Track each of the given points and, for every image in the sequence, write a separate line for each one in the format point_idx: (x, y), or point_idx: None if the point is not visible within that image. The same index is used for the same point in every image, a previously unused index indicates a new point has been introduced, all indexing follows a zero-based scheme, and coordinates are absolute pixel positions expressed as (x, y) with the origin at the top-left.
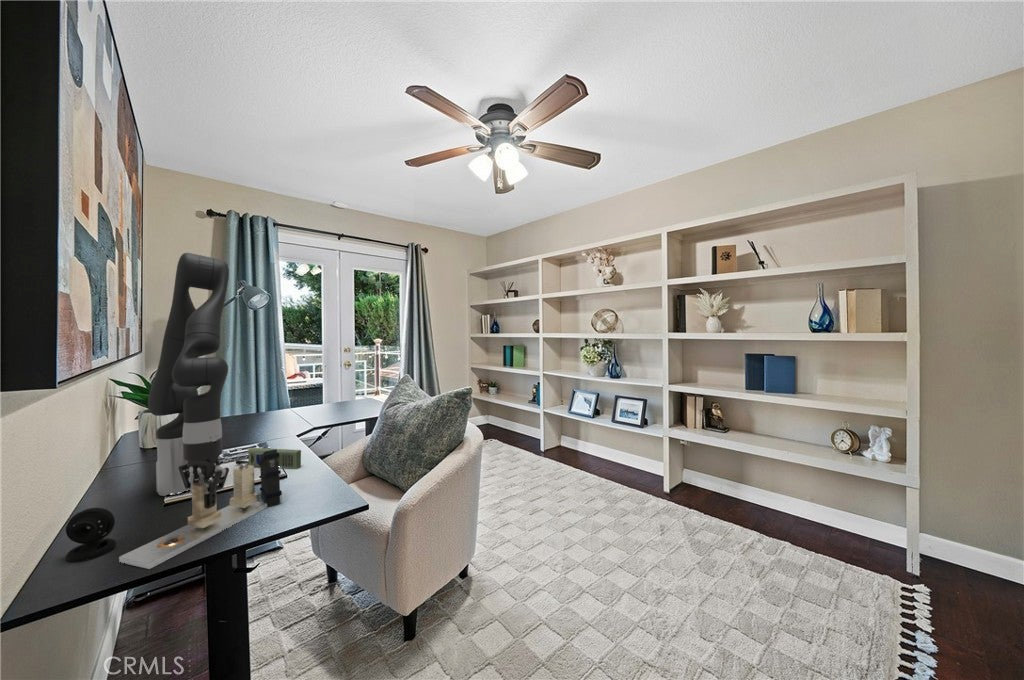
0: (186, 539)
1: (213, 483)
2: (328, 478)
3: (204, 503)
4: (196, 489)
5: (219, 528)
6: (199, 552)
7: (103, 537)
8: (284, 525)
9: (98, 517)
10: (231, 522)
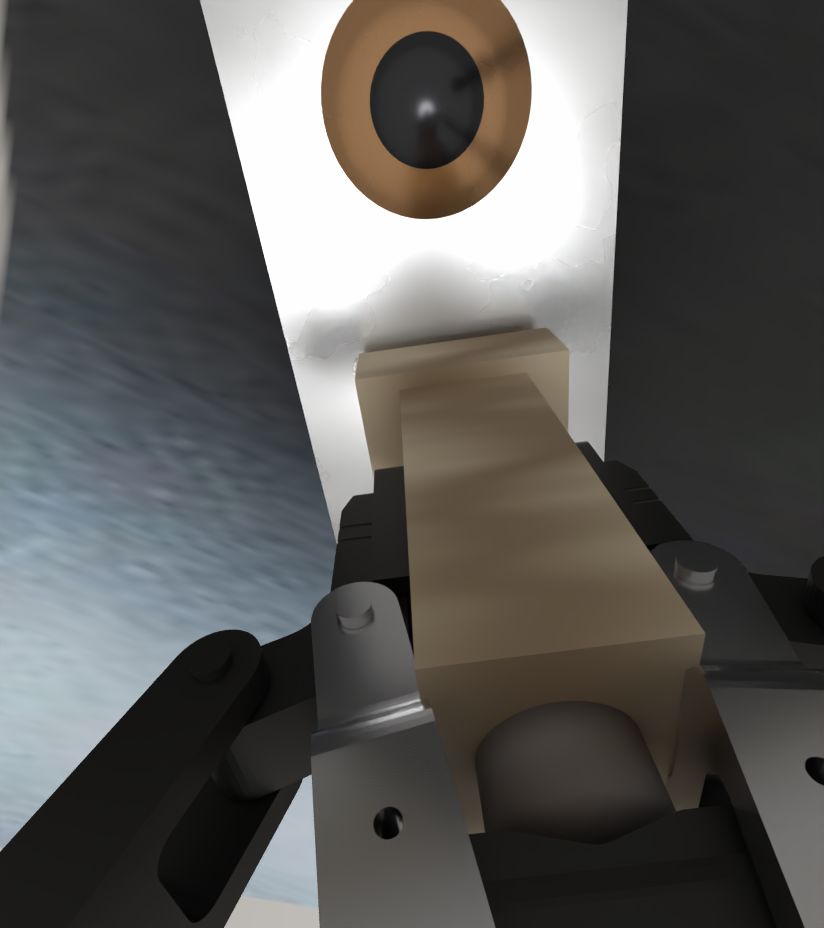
0: (342, 199)
1: (102, 820)
2: None
3: (403, 492)
4: (531, 589)
5: (308, 426)
6: (98, 166)
7: None
8: (31, 616)
9: None
10: (330, 508)
